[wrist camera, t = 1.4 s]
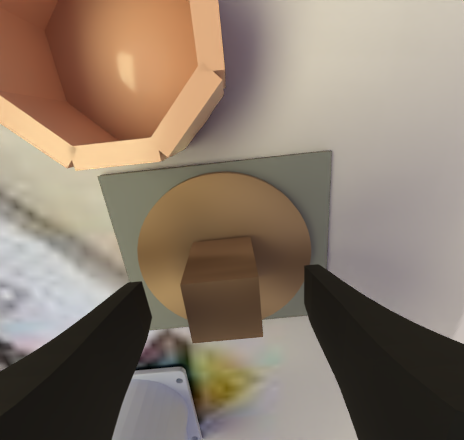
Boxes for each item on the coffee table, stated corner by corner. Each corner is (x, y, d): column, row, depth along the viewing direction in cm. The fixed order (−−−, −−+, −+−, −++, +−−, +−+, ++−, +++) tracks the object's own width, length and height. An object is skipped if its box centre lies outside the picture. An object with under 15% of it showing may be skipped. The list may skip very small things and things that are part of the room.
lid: (306, 310, 16) (337, 383, 11) (161, 324, 16) (135, 400, 11) (307, 161, 12) (353, 181, 8) (122, 181, 12) (64, 211, 8)
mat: (322, 309, 16) (324, 313, 16) (146, 326, 16) (144, 330, 16) (328, 150, 12) (331, 151, 12) (101, 175, 13) (97, 176, 12)
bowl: (231, 144, 12) (233, 153, 8) (79, 161, 13) (5, 178, 8) (210, -65, 10) (197, -215, 5) (13, -40, 10) (-150, -168, 6)
